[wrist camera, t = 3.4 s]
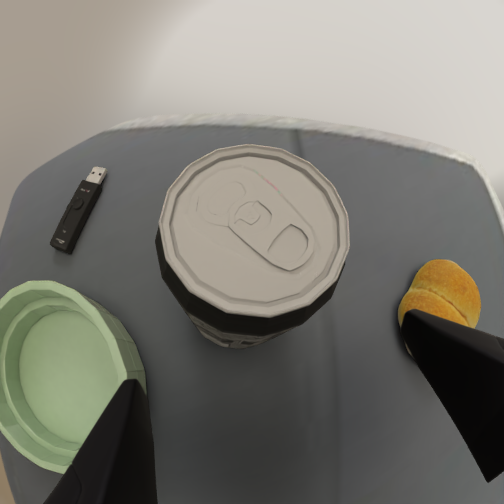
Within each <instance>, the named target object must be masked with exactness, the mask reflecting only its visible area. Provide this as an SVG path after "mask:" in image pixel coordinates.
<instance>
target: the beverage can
mask: <svg viewBox="0 0 504 504" xmlns="http://www.w3.org/2000/svg"><path fill="white" fill-rule="evenodd" d="M155 244H156V249H157V255H158V260H159V265H160V270H161V275H162V278H163V280H164V281H165V283H166V284H167V286H168V287H169V289H170V290H171V292H172V293H173V295H174V296H175V298H176V299H177V301H178V302H179V304H180V305H181V306H182V308H183V309H184V311H185V312H186V314H187V315H188V316H189V318H190V319H191V321H192V322H193V323H194V324H195V326H196V327H197V328H198V330H199V331H200V332H201V334H202V335H203V336H204V337H205V338H207V339H209V340H211V341H212V342H214V343H216V344H218V345H220V346H221V347H228V348H237V349H244V348H248V347H251V346H254V345H258V344H261V343H263V342H266V341H268V340H270V339H272V338H274V337H276V336H278V335H281V334H283V333H285V332H287V331H289V330H291V329H293V328H295V327H297V326H299V325H301V324H303V323H304V322H305V321H307V320H308V319H309V318H310V317H311V316H312V315H313V314H314V313H315V312H317V311H318V310H319V309H320V308H321V307H322V306H323V305H324V304H325V303H326V302H327V301H328V300H329V299H331V297H332V295H333V293H334V290H335V288H336V285H337V283H338V281H339V278H340V276H341V273H342V271H343V268H344V266H345V259H346V256H347V254H348V251H349V248H350V239H349V222H348V214H347V211H346V209H345V207H344V205H343V203H342V201H341V199H340V197H339V195H338V193H337V191H336V189H335V187H334V185H333V184H332V183H331V182H330V181H329V180H328V179H327V178H326V177H325V176H324V175H323V174H322V173H321V172H320V171H319V170H318V169H316V168H315V167H314V166H313V165H312V164H311V163H310V162H308V161H306V160H304V159H302V158H300V157H298V156H296V155H293V154H291V153H289V152H287V151H285V150H283V149H280V148H274V147H267V146H260V145H253V144H245V145H239V146H233V147H227V148H221V149H216V150H214V151H213V152H211V153H209V154H207V155H205V156H203V157H202V158H200V159H198V160H196V161H194V162H193V163H191V164H189V165H188V166H187V167H186V168H185V169H184V171H183V172H182V173H181V174H180V176H179V177H178V178H177V179H176V180H175V182H174V183H173V184H172V185H171V187H170V188H169V189H168V191H167V194H166V198H165V202H164V205H163V209H162V213H161V216H160V220H159V227H158V231H157V235H156V239H155Z"/></svg>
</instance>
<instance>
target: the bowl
mask: <svg viewBox="0 0 504 504" xmlns="http://www.w3.org/2000/svg"><path fill="white" fill-rule="evenodd" d="M134 378H135V379H138V381H139V382H140V384H141V386H142V388H143V390H144V392H145V393H146V395H147V392H146V380H145V371H144V367H143V364H142V362H141V359H140V356H139V353H138V350H137V348H136V345H135V342H134V341H133V339H132V338H131V337H130V335H129V334H128V332H127V331H126V329H125V328H124V326H123V325H122V323H121V322H120V320H119V319H117V318H116V317H115V316H114V315H112V314H111V313H110V312H109V311H108V310H106V309H105V308H104V307H103V306H102V305H100V304H99V303H97V302H95V301H93V300H92V299H90V298H88V297H86V296H85V295H83V294H81V293H80V292H78V291H76V290H74V289H72V288H69V287H67V286H64V285H62V284H59V283H57V282H55V281H28V282H26V283H24V284H22V285H20V286H17V287H15V288H13V289H11V290H10V291H9V292H8V293H7V294H6V295H5V296H4V297H3V298H2V299H1V300H0V430H1V432H2V433H3V434H4V436H5V437H6V438H7V439H8V440H9V441H10V443H11V444H12V445H13V446H14V447H15V448H16V449H17V450H18V451H19V453H21V454H22V455H24V456H25V457H26V458H28V459H29V460H31V461H32V462H34V463H35V464H37V465H38V466H40V467H42V468H45V469H48V470H51V471H54V472H58V473H61V474H64V473H65V472H66V470H67V468H68V467H69V465H70V464H72V460H73V459H74V457H75V455H76V454H77V452H78V451H79V449H80V447H81V446H82V444H83V443H84V441H85V439H86V438H87V436H88V435H89V433H90V431H91V430H92V428H93V427H94V425H95V423H96V422H97V420H98V419H99V417H100V416H101V414H102V413H103V411H104V409H105V408H106V406H107V405H108V403H109V402H110V400H111V399H112V397H113V396H114V394H115V393H116V391H117V389H118V388H119V386H120V385H121V383H122V382H123V381H124V380H125V379H134Z"/></svg>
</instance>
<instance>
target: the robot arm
mask: <svg viewBox="0 0 504 504" xmlns="http://www.w3.org/2000/svg"><path fill="white" fill-rule="evenodd" d="M400 333H401V336H402V338H403V340H404V341H405V343H406V345H407V347H408V349H409V350H410V352H411V354H412V356H413V358H414V360H415V362H416V363H417V365H418V367H419V368H420V370H421V372H422V373H423V375H424V376H425V378H426V379H427V381H428V382H429V384H430V385H431V387H432V388H433V390H434V391H435V393H436V395H437V396H438V398H439V399H440V401H441V402H442V404H443V406H444V407H445V409H446V410H447V412H448V414H449V415H450V417H451V419H452V420H453V422H454V424H455V425H456V427H457V429H458V430H459V432H460V434H461V435H462V437H463V439H464V441H465V442H466V444H467V446H468V448H469V450H470V451H471V453H472V455H473V457H474V459H475V461H476V462H477V464H478V466H479V468H480V470H481V472H482V474H483V476H484V478H485V480H486V481H487V482H488V483H489V482H490V481H492V480H493V479H494V478H496V477H497V476H498V475H500V474H501V473H502V472H503V471H504V339H503V338H500V337H497V336H496V337H495V336H494V335H491V334H488V333H485V332H482V331H479V330H476V329H473V328H471V327H468V326H465V325H462V324H459V323H456V322H453V321H450V320H447V319H444V318H441V317H439V316H436V315H433V314H430V313H427V312H424V311H421V310H418V309H411V310H409V311H407V312H405V314H404V317H403V321H402V325H401V328H400ZM43 504H158V502H157V490H156V477H155V458H154V442H153V435H152V428H151V421H150V413H149V405H148V398H147V395H146V393H145V392H144V390H143V388H142V386H141V384H140V382H139V381H138V379H135V378H134V379H125V380H124V381H123V382H122V383H121V385H120V386H119V388H118V389H117V391H116V393H115V394H114V396H113V397H112V399H111V400H110V402H109V403H108V405H107V406H106V408H105V409H104V411H103V413H102V414H101V416H100V417H99V419H98V420H97V422H96V423H95V425H94V427H93V428H92V430H91V431H90V433H89V435H88V436H87V438H86V439H85V441H84V443H83V444H82V446H81V447H80V449H79V451H78V452H77V454H76V455H75V457H74V459H73V460H72V464H70V465H69V467H68V468H67V470H66V472H65V473H64V475H63V477H62V478H61V480H60V481H59V483H58V484H57V486H56V487H55V489H54V490H53V491H52V493H51V494H50V496H49V497H48V498H47V499H46V501H45V502H44V503H43Z"/></svg>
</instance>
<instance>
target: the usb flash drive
mask: <svg viewBox="0 0 504 504" xmlns="http://www.w3.org/2000/svg"><path fill="white" fill-rule="evenodd" d="M106 173H107V170H106V169H105V168H100V167H95V166H94V168H93V170H92V171H91V173H90V175H89V176H88V178H87V180H86V181H85V180H82V182H81V183H80V185H79V187H78V189H77V190H76V192H75V194H74V196H73V198H72V199H71V201H70V203H69V205H68V207H67V209H66V211H65V213H64V215H63V216H62V218H61V220H60V222H59V225H58V227H57V229H56V231H55V233H54V235H53V237H52V239H51V242H50V245H51V246H52V247H54V248H56V249H58V250H61V251H63V252H66V253H68V254H70V253H71V251H72V249H73V247H74V244H75V242H76V240H77V238H78V236H79V233H80V231H81V229H82V227H83V225H84V223H85V221H86V219H87V217H88V215H89V213H90V211H91V209H92V207H93V205H94V203H95V201H96V199H97V197H98V196H99V194H100V192H101V190H102V188H101V186H100V184H101V182H102V180H103V179H104V177H105V175H106Z"/></svg>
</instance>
